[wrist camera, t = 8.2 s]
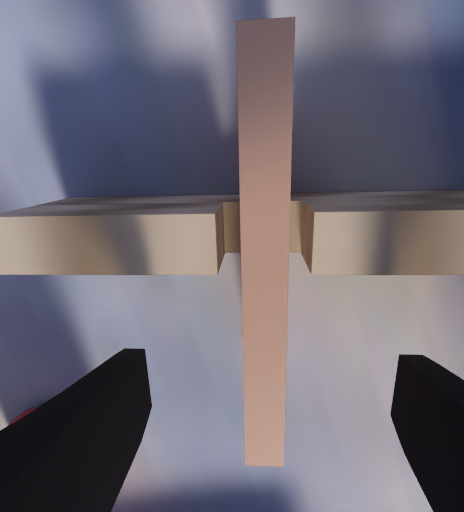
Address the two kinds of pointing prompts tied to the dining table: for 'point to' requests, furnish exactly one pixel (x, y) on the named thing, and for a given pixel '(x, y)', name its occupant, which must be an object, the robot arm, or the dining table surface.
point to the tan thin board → (265, 226)
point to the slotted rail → (235, 234)
